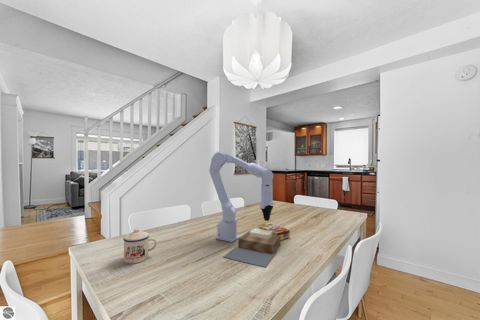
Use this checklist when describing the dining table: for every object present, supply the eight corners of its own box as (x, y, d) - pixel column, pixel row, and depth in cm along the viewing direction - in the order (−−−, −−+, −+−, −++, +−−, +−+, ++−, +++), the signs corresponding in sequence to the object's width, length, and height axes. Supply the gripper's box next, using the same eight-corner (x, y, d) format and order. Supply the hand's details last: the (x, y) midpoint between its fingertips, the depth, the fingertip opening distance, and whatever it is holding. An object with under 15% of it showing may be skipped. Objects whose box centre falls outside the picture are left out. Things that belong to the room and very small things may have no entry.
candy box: (276, 232, 100) (257, 225, 113) (277, 241, 100) (258, 233, 113) (289, 229, 105) (270, 222, 118) (290, 237, 105) (270, 230, 117)
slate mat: (223, 257, 82) (223, 256, 82) (235, 247, 92) (235, 246, 92) (265, 267, 74) (265, 266, 74) (274, 255, 84) (274, 254, 84)
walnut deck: (238, 247, 92) (238, 238, 92) (248, 238, 103) (249, 230, 103) (272, 254, 85) (272, 245, 85) (280, 244, 96) (280, 235, 96)
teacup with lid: (121, 266, 75) (121, 234, 75) (125, 255, 83) (125, 227, 83) (156, 260, 79) (156, 230, 79) (156, 251, 88) (157, 224, 88)
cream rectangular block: (249, 236, 95) (249, 232, 95) (254, 232, 100) (254, 228, 100) (268, 239, 91) (268, 235, 91) (272, 235, 96) (272, 231, 96)
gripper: (269, 195, 95) (269, 225, 95) (278, 192, 108) (278, 217, 108) (255, 194, 98) (255, 223, 98) (265, 191, 111) (265, 216, 111)
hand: (266, 220), depth 103 cm, fingers closed
